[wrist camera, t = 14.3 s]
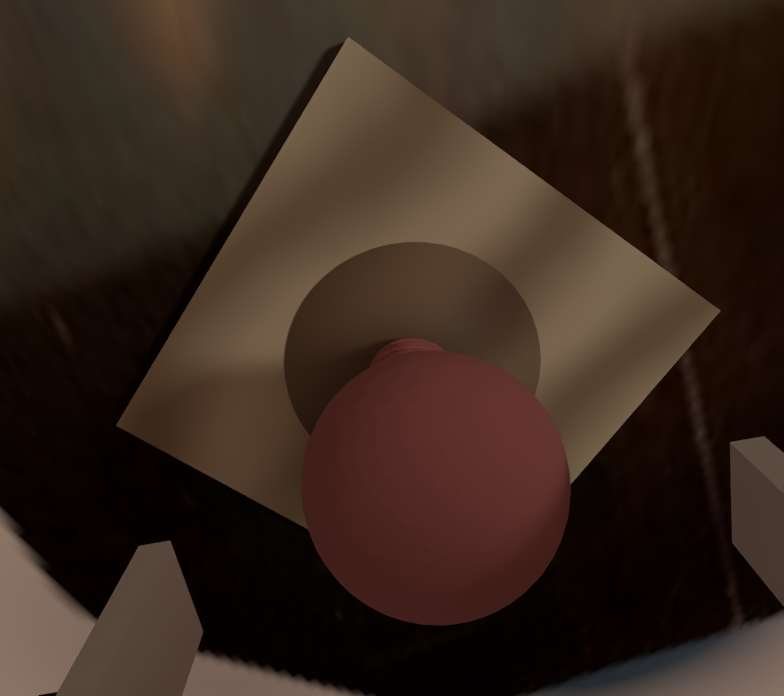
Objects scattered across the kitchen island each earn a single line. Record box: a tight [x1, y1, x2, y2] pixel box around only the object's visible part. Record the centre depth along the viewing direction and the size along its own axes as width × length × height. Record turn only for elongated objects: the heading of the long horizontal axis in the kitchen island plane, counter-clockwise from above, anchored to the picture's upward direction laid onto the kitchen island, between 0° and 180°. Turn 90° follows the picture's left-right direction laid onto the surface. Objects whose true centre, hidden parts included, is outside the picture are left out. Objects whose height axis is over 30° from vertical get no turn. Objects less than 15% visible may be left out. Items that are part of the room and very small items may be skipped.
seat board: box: [116, 37, 720, 529], centre depth 26 cm, size 17×17×1 cm
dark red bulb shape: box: [301, 338, 571, 625], centre depth 20 cm, size 7×7×12 cm
